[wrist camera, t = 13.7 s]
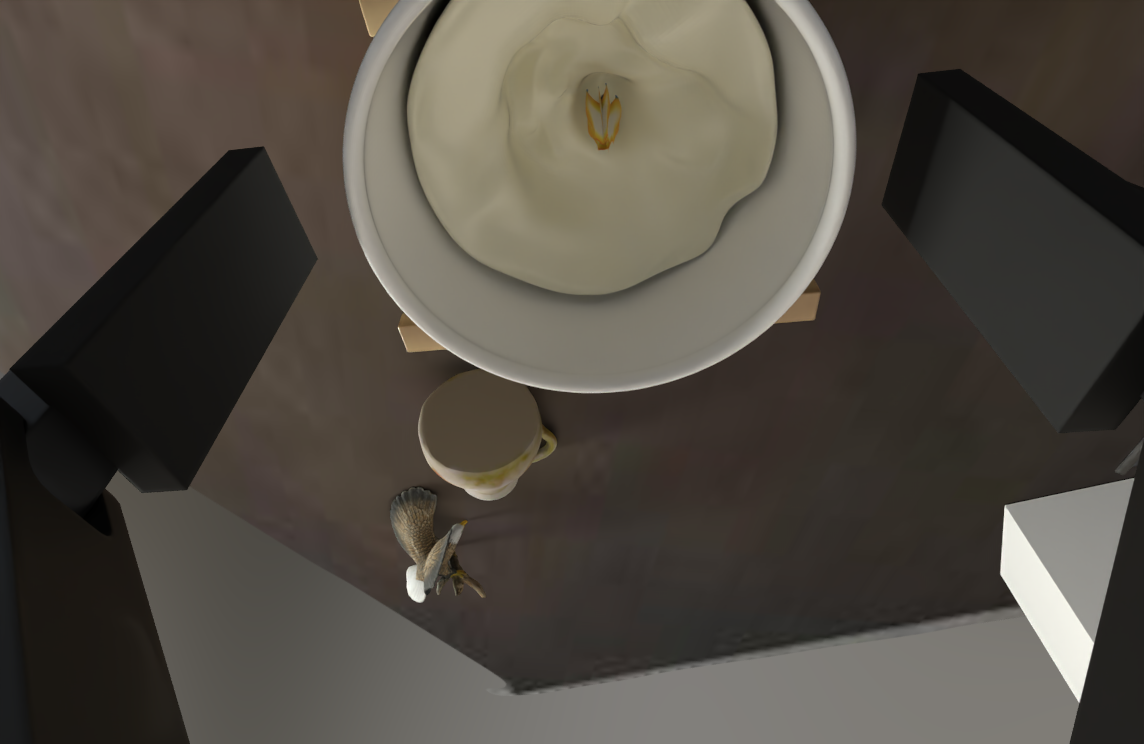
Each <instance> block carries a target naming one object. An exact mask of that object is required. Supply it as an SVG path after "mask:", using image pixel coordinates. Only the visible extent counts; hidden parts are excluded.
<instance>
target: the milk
mask: <svg viewBox="0 0 1144 744" xmlns="http://www.w3.org/2000/svg"><path fill="white" fill-rule="evenodd" d="M1133 482H1134V478H1131V479H1127V480H1122V481H1117V482H1112V483H1108V484H1103V485H1098V486H1093V487H1089V488H1084V489H1079V490H1075V491H1070V492H1065V493H1060V494H1056V495H1051V496H1046V497H1042V498H1037V499H1032V500H1027V501H1023V502H1018V503H1013V504H1008V505H1005V509H1004V524H1003V540H1002V555H1001V571H1000V574H1001V576H1002V578H1003V579H1004V581H1005V582H1006V584H1007V586H1008V587H1009V589H1010V591H1011V592H1012V594H1013V596H1014V597H1015V599H1016V600H1017V602H1018V604H1019V605H1020V607H1021V609H1022V610H1023V612H1024V614H1025V615H1026V617H1027V618H1028V620H1029V622H1030V623H1031V625H1032V627H1033V628H1034V630H1035V631H1036V633H1037V635H1038V636H1039V638H1040V640H1041V641H1042V643H1043V644H1044V646H1045V648H1046V649H1047V651H1048V653H1049V654H1050V656H1051V658H1052V659H1053V661H1054V663H1055V664H1056V666H1057V667H1058V669H1059V671H1060V672H1061V674H1062V676H1063V677H1064V679H1065V680H1066V682H1067V684H1068V685H1069V687H1070V689H1071V690H1072V692H1073V694H1074V695H1075V697H1076V698H1077V700H1078V702H1079V703H1080V699H1081V695H1082V691H1083V687H1084V683H1085V678H1086V674H1087V670H1088V666H1089V662H1090V658H1091V654H1092V650H1093V646H1094V642H1095V637H1096V633H1097V629H1098V625H1099V621H1100V617H1101V613H1102V609H1103V605H1104V601H1105V597H1106V592H1107V588H1108V584H1109V580H1110V576H1111V572H1112V568H1113V564H1114V560H1115V556H1116V551H1117V547H1118V543H1119V539H1120V535H1121V531H1122V527H1123V523H1124V519H1125V515H1126V510H1127V506H1128V502H1129V498H1130V494H1131V490H1132V486H1133Z"/></svg>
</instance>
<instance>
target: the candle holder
mask: <svg viewBox="0 0 1144 744" xmlns="http://www.w3.org/2000/svg"><path fill="white" fill-rule="evenodd" d="M855 163H856V122H855V112H854V105H853V100H852V95H851V90H850V86H849V82H848V78H847V75H846V72H845V69H844V66H843V63H842V60H841V58H840V55H839V53H838V50H837V48H836V46H835V44H834V41H833V39H832V37H831V35H830V33H829V32H828V30H827V28H826V26H825V24H824V23H823V21H822V19H821V18H820V16H819V15H818V13H817V12H816V10H815V9H814V7H813V6H812V5H811V3H810V2H809V1H808V0H399V1H398V2H397V3H396V5H395V6H394V7H393V9H392V10H391V11H390V13H389V14H388V16H387V17H386V19H385V20H384V21H383V23H382V25H381V26H380V28H379V29H378V31H377V33H376V34H375V36H374V38H373V40H372V42H371V44H370V46H369V47H368V49H367V52H366V54H365V56H364V58H363V60H362V63H361V65H360V68H359V70H358V73H357V76H356V79H355V82H354V85H353V88H352V92H351V95H350V99H349V103H348V108H347V113H346V119H345V126H344V136H343V175H344V185H345V192H346V198H347V203H348V207H349V211H350V215H351V219H352V222H353V225H354V229H355V231H356V234H357V237H358V240H359V242H360V245H361V247H362V249H363V251H364V254H365V256H366V258H367V260H368V262H369V264H370V266H371V267H372V269H373V271H374V273H375V274H376V276H377V278H378V279H379V281H380V282H381V284H382V285H383V287H384V288H385V290H386V291H387V292H388V294H389V295H390V296H391V298H392V299H393V300H394V301H395V303H396V304H397V305H398V306H399V307H400V309H401V310H402V311H403V312H404V313H405V314H406V315H407V316H408V317H409V318H410V319H411V320H412V321H413V322H414V323H415V324H416V325H417V326H418V327H419V328H420V329H421V330H423V331H424V332H425V333H426V334H427V335H428V336H430V337H431V338H432V339H433V340H435V341H436V342H437V343H439V344H440V345H441V346H443V347H444V348H446V349H447V350H449V351H450V352H452V353H453V354H455V355H457V356H458V357H460V358H462V359H463V360H465V361H467V362H469V363H471V364H473V365H475V366H477V367H479V368H481V369H483V370H485V371H487V372H490V373H492V374H495V375H497V376H500V377H503V378H505V379H508V380H511V381H515V382H518V383H521V384H525V385H529V386H533V387H538V388H543V389H549V390H555V391H563V392H575V393H610V392H621V391H630V390H636V389H642V388H647V387H652V386H656V385H660V384H664V383H667V382H671V381H674V380H677V379H680V378H683V377H686V376H689V375H691V374H694V373H696V372H699V371H701V370H703V369H705V368H708V367H710V366H712V365H714V364H716V363H718V362H720V361H722V360H723V359H725V358H727V357H729V356H730V355H732V354H734V353H735V352H737V351H739V350H740V349H742V348H743V347H745V346H746V345H748V344H749V343H750V342H752V341H753V340H754V339H756V338H757V337H758V336H760V335H761V334H762V333H763V332H765V331H766V330H767V329H768V328H769V327H771V326H772V325H773V324H774V323H775V322H776V321H777V320H778V319H779V318H780V317H781V316H782V315H783V314H784V313H785V312H786V311H787V310H788V309H789V308H790V307H791V306H792V305H793V304H794V303H795V302H796V300H797V299H798V298H799V297H800V296H801V294H802V293H803V292H804V291H805V289H806V288H807V287H808V285H809V284H810V283H811V281H812V280H813V278H814V277H815V275H816V274H817V272H818V271H819V269H820V268H821V266H822V264H823V263H824V261H825V259H826V257H827V255H828V254H829V252H830V250H831V248H832V246H833V244H834V241H835V239H836V237H837V235H838V232H839V230H840V227H841V225H842V222H843V219H844V216H845V213H846V209H847V206H848V202H849V199H850V194H851V190H852V185H853V179H854V172H855Z"/></svg>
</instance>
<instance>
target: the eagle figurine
mask: <svg viewBox="0 0 1144 744" xmlns="http://www.w3.org/2000/svg"><path fill="white" fill-rule="evenodd" d="M436 504H437V496H436V495H433V494H432V493H431V492H430V491H429V490H426V491H424V490H423V488H421V487H417V488H414V487H411V488H410V489H409V491H406V490H405V491H403V492H402V497H400V496H397V497H396V500H394V501H393V503H392V505H391V510H390V513H391V515H390V518H391V521H392V527H393V529H394V532H395V536H396V537H397V540H398V542H399V543H400V545H401V546H402V547H403V549H404V550H405V551H406V552H407V554H409V555H410V557H411V558H413V559H414V561H415V562H416V563H417V565H413V566H410V567H409V568H408V570H407V574H406V576H407V589H408V595H409V596H410V597H411V598H412V599H413V600H415V601H416V602H424V600H425V598H426V595H428V594H429V593H430V592H431V590H432V588H434V586H435V582H436V579H437V577H438V575H439V576H442V577H441V579H440V580H439V581H438V583H437V584H438V586H437V594H438V595H440V593H441V590H442V588H443V586H444V585H445V583H446V582H447V581H448V580H449V578H450V577H451V578H453V587H454V590H455V594H456V596H458V595H460V594H461V592H462V590H463V584H464V583H466V584H468V585H469V586H471V587H472V588H474V589H475V590H476V591H477V592H478V594H479V595H480V596H481V597H483V598H485V597H486V594H485V592H484V590H483V588H482V586H481V585H480V584H479V583H478V582H477V581H476V580H474V579H473V578H471V577H469V575H467V574H466V572H465V571H463V569H462V567H461V566H460V565H459V561H458V559H457V555H456V554H455V548H456V545H457V543H458V540H459V538H460V536H461V534H462V532H463V529H464V526H465V524H466V523H467V522H468V521H467V520H464V521H463V522H461V523H459V524H455V525H454V526H453V527H452V528H451V529H450V531H449V532H448V534H447V535H446V536H445V537H443V538H442V539H439V538H438V537H436V536H435V534H434V528H433V516H434V512H435V509H436Z"/></svg>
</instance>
